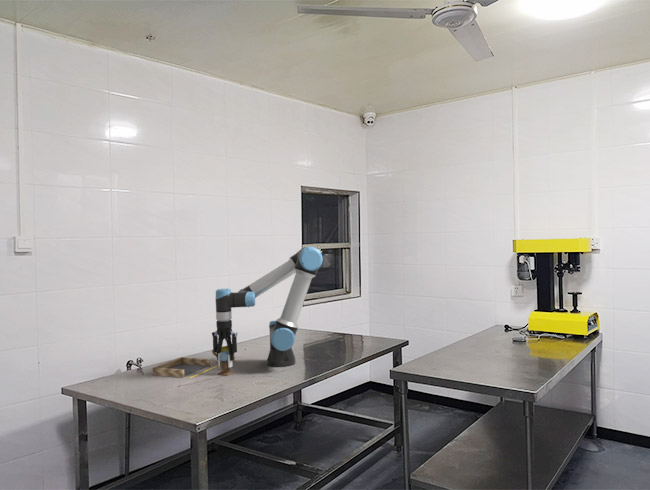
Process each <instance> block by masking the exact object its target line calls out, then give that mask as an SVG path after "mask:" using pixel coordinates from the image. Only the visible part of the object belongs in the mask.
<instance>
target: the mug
mask: <svg viewBox="0 0 650 490" xmlns="http://www.w3.org/2000/svg"><path fill="white" fill-rule="evenodd" d="M221 351H222V352H223V351H227V352H229V350H228V346H227V345H225V346H223V345H222V349H221ZM222 352H220V353H222ZM211 353H212V354H213V356H215V357H216V358H217V353H216V352H213V349H212V350H211ZM233 355H234V359H233V360H232V363H234V362H235V353H234V354H233Z"/></svg>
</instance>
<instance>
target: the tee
mask: <svg viewBox="0 0 650 490" xmlns="http://www.w3.org/2000/svg"><path fill="white" fill-rule="evenodd" d="M220 370H221V371H220V372H217V376H223V377H225V376H226V377H229V376H231V375H232V374H234V373H235V370H231V367H230V368H228V361H221V367H220Z"/></svg>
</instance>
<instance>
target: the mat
mask: <svg viewBox="0 0 650 490" xmlns="http://www.w3.org/2000/svg"><path fill="white" fill-rule="evenodd" d="M207 367H208V366H204V365H191V364H180V365H178V366H175V367H173V368H170V369H182V370H184V376H185V377H186V376H188V375H190V374H193V373H195V372H197V371H200V370H202V369H204V368H207Z"/></svg>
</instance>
